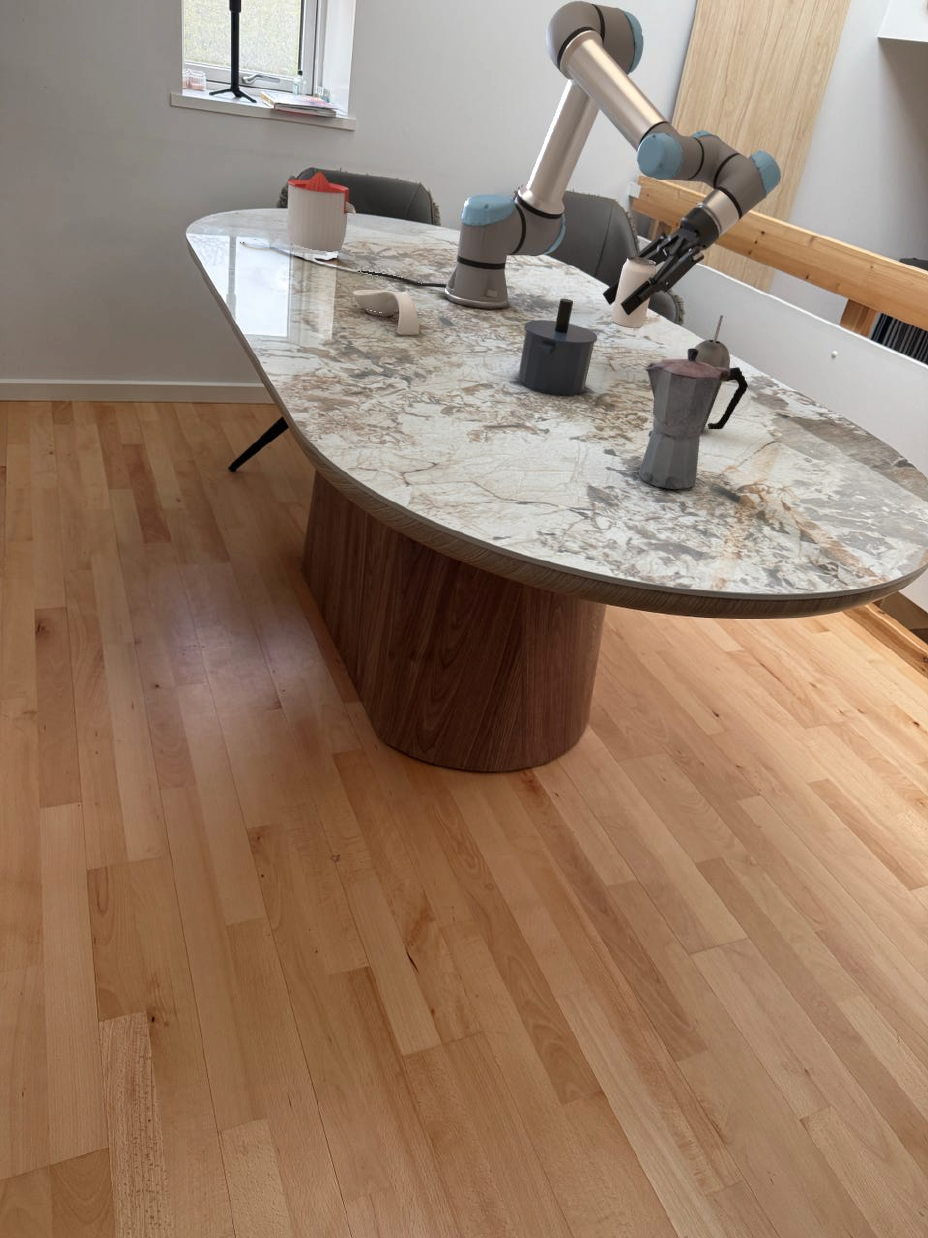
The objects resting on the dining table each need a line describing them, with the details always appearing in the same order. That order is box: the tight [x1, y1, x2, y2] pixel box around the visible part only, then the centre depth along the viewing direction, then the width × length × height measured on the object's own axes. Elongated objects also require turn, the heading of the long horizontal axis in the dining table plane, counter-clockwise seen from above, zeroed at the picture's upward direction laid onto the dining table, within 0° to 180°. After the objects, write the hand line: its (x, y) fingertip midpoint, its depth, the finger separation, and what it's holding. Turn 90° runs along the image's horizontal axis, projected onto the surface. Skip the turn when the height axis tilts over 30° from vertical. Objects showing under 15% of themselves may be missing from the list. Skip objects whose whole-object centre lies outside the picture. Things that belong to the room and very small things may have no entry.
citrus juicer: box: [286, 171, 357, 252], centre depth 237 cm, size 16×17×20 cm
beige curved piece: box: [352, 289, 420, 336], centre depth 197 cm, size 24×12×7 cm, turn 25°
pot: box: [517, 331, 595, 396], centre depth 173 cm, size 13×18×10 cm
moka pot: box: [638, 347, 749, 490], centre depth 137 cm, size 10×15×20 cm, turn 95°
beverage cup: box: [694, 314, 731, 433], centre depth 160 cm, size 7×7×20 cm
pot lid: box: [523, 298, 598, 345], centre depth 169 cm, size 14×14×7 cm
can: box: [610, 256, 657, 329], centre depth 180 cm, size 6×6×12 cm
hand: (615, 304), depth 180 cm, fingers closed on can, 6 cm apart
